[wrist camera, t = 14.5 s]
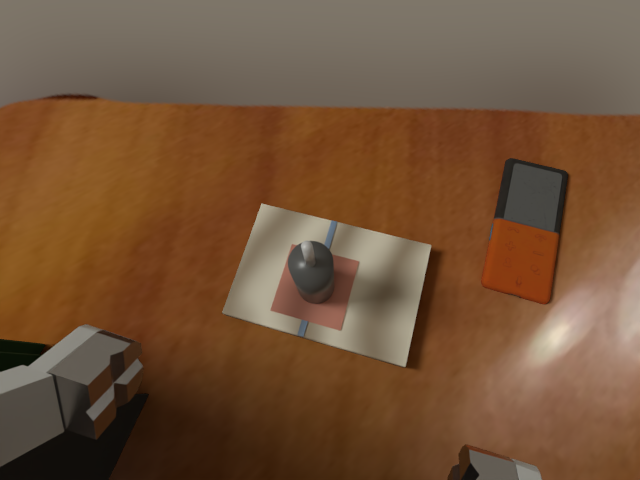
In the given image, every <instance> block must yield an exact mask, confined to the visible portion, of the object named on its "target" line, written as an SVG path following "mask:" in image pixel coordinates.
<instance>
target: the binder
mask: <svg viewBox="0 0 640 480" xmlns="http://www.w3.org/2000/svg"><path fill="white" fill-rule="evenodd" d="M44 346H45V345H44V344H40V343H31V342H22V341H13V340H4V339H0V372H2V371H5V370H8V369H11V368H15V367H18V366H21V365H25V366H29V365H31V364H32V363H33V362H34V361H36V360H37V359H38V358H39V357H41V356H42V355H39V354H40V353H41V351H42V350H43V348H44ZM148 395H149V394H135V395H134V396H133V397H132V399H131V400H130V401H129V402H128V403H126V404H124V405H122V406H120V407H117V408H116V418H115V419H114V420H113V421H112V422H111V423H110V424H109V426H108V427H107V428H106V429H105V430H104V431H103V433H102V434H101V435H100V436H99V437H98V438H97V440H95V439H92V438H89V437H86V436H83V435H80V434H77V433H74V432H71V431H68V430H65V429H64V432H63V433H61V434H59V435H57V436H55V437H54V438H52V439H50V440H48V441H46V442H44V443H43V444H41V445H39V446H37V447H35V448H34V449H32V450H30V451H28V452H26V453H24V454H23V455H21V456H19V457H17V458H15V459H13V460H12V461H10V462H8V463H6V464H4V465H3V466H1V467H0V480H109V478H110V475H111V473H112V471H113V469H114V467H115V465H116V463H117V461H118V458H119V456H120V454H121V452H122V450H123V448H124V446H125V444H126V441H127V439H128V437H129V435H130V433H131V431H132V429H133V427H134V425H135V422H136V420H137V418H138V416H139V414H140V412H141V410H142V408H143V405H144V403H145V401H146V399H147V397H148Z"/></svg>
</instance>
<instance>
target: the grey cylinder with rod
mask: <svg viewBox="0 0 640 480" xmlns="http://www.w3.org/2000/svg"><path fill="white" fill-rule="evenodd" d="M288 268H289V271H290V274H291V276H292V278H293V281H294V283H295V285H296V287H297V290H298V292H299V294H300V296H301V297H302V298H303V299H304V300H305V301H307V302H309V303H312V304H320V303H323V302H325V301H327V300H328V299H329V298H330V297H331V295H332V294H333V291H334V263H333V256H332V253H331V252H330V250H329V249H328V248H327V247H326V246H325V245H324V244H322V243H320V242H317V241H304V242H302V243H300V244H298V245H297V246H296V247H295V248H294V249H293V250H292V251H291V253H290V255H289V258H288Z"/></svg>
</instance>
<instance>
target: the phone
mask: <svg viewBox="0 0 640 480" xmlns="http://www.w3.org/2000/svg"><path fill="white" fill-rule="evenodd" d="M567 179H568V174H567V172H566V171H564V170H560V169H556V168H551V167H547V166H543V165H539V164H534V163H530V162H526V161H522V160H517V159H513V158H510V159H508V160H507V161H506V162H505V166H504V171H503V176H502V181H501V186H500V191H499V196H498V200H497V205H496V210H495V215H494V220H493V224H492V229H491V234H490V239H489V245H488V250H487V255H486V260H485V265H484V270H483V275H482V280H481V283H482V285H483V286H484V287H485V288H488V289H491V290H495V291H498V292H502V293H505V294H512V295H516V296H519V297H520V298H523V299H526V300H530V301H533V302H537V303H540V304H546V303H548V302H549V301H550V296H551V289H552V283H553V276H554V269H555V262H556V255H557V248H558V241H559V234H560V227H561V220H562V213H563V207H564V200H565V193H566V186H567Z"/></svg>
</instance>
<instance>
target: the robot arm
mask: <svg viewBox="0 0 640 480" xmlns="http://www.w3.org/2000/svg"><path fill="white" fill-rule="evenodd" d="M141 354H142V348H141V343H139V342H137V341H134V340H131V339H128V338H125V337H123V336H120V335H117V334H114V333H111V332H108V331H105V330H102V329H99V328H96V327H93V326H90V325H87V324H86V325H83V326H80V327H78V328H77V329H75V330H74V331H73V332H71V333H70V334H69V335H68V336H66V337H65V338H64V339H62V340H61V341H60V342H59V343H57V344H56V345H55V346H54V347H52V348H51V349H50V350H48V351H47V352H46V353H45V354H43V355H42V356H41V357H39V358H38V359H37V360H36V361H34V362H33V363H32V364H31V365H29V366H25V365H21V366H18V367H15V368H11V369H8V370H5V371H2V372H0V467H1V466H3V465H4V464H6V463H8V462H10V461H12V460H13V459H15V458H17V457H19V456H21V455H23V454H24V453H26V452H28V451H30V450H32V449H34V448H35V447H37V446H39V445H41V444H43V443H44V442H46V441H48V440H50V439H52V438H54V437H55V436H57V435H59V434H61V433H63V432H64V429H65V430H68V431H71V432H74V433H77V434H80V435H83V436H86V437H89V438H92V439H95V440H97V438H98V437H99V436H100V435H101V434H102V433H103V431H104V430H105V429H106V428H107V427H108V426H109V424H110V423H111V422H112V421H113V420H114V419H115V418H116V408H117V407H120V406H122V405H124V404H126V403H128V402H129V401H130V400H131V399H132V397H133V396H134V395H135V394H136V392H137V390H138V388H139V386H140V384H141V382H142V377H143V366H142V364H141V363H140V361H139V360H138V357H139V356H140V355H141ZM458 455H459V464H457V465H455V466H453V467H452V468H451V471H450V473H449V475H448V479H447V480H542V478H541V475H540V471H539V470H538V468H537V467H536V466H534V465H531V464H528V463H524V462H521V461H518V460H515V459H510V458H509V457H506V456H503V455H500V454H496V453H493V452H490V451H486V450H483V449H480V448H476V447H473V446H470V445H466V444H465V445H464V446H463V447H462V448H461V450H460V452H459V454H458Z"/></svg>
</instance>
